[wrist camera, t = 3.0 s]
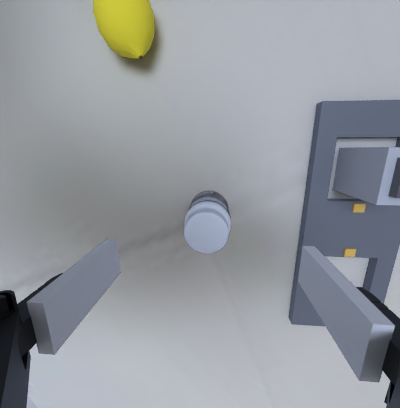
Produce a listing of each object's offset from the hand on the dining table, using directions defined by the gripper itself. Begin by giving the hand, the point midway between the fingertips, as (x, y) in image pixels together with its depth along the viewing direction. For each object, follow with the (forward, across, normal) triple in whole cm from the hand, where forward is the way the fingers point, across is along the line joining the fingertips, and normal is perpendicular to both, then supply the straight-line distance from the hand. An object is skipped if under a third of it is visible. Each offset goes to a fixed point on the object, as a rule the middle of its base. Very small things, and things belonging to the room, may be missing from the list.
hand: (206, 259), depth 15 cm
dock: (+12, +17, -2) cm, 21 cm away
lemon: (+12, -8, +20) cm, 24 cm away
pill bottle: (+12, 0, 0) cm, 12 cm away
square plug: (+12, +17, +5) cm, 21 cm away
